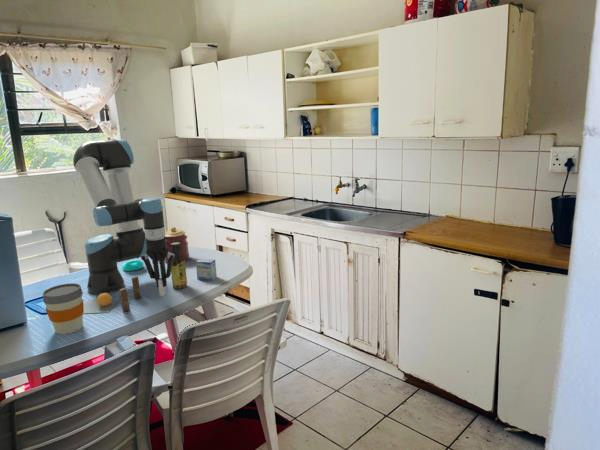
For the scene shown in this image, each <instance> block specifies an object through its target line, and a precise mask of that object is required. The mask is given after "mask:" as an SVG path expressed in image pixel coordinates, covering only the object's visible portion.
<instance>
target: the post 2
mask: <svg viewBox="0 0 600 450" xmlns="http://www.w3.org/2000/svg"><path fill="white" fill-rule="evenodd" d="M131 284H132V290H133V297H134V300H140V299H141V298H142V294H141V288H140V280H139V277H138V276H133V277H131Z"/></svg>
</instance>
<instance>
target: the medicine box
mask: <svg viewBox="0 0 600 450" xmlns="http://www.w3.org/2000/svg"><path fill="white" fill-rule="evenodd" d="M216 265H217V264H216V259H203V258H202V259H201V258H200V259H198V260H196V261H195V268H196V278H197V280H198V281H214V280H215V279H216V278H217V277H218V275H217V267H216Z"/></svg>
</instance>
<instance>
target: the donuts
mask: <svg viewBox="0 0 600 450" xmlns="http://www.w3.org/2000/svg"><path fill="white" fill-rule="evenodd" d="M144 265H145V263H144V261H143V260H139V259H131V260H127V261H126V262H124V263H122V270H124V271H125V272H133V271H138V270H141V269H142V268H143V267H144Z"/></svg>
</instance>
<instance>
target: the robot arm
mask: <svg viewBox="0 0 600 450" xmlns="http://www.w3.org/2000/svg"><path fill="white" fill-rule="evenodd" d="M72 162H73V164H72V165H73V167H74V169H75V172H76V173H77V174H79V176H81V179H82V181H83V182H84V185H85V187H86V189H87V191H88V193H89V195H90V198H91V200H92V202H93V204H94V208H93V210H92V214H93V220H94V222H95V224H96V226H98V227H106V226H108V227H109V226H113V225H117V227H118V228H117V230H116V231H115V236H113V234H110V233H106V234H99V235H96V236H93V237H91V238H89V239H87V240H86V241H85V243H84V251H85V256H86V261H87V267H88V272H89V273H88V281H87V287H86V288H87V292H88V293H89V294H93V295H100V294H102V293H108V294H109V293H112V292H116V291H117V290H120V289H123V287H124V286H125V280H124V278H123V276H122V274H121V272H120V270H119V267H118V263H122V262H125V261H126V262H127V261H131V260H136V259H141V261H142V262H143V264H144V265H145V267H146V270H147V273H148V276H149V277H150V279H153V280H155V285H156V286H155V287H156V288H158V291H159V296H164V295H165V294H166V287H167V285H168V284H167V282H168V281H167V279H169V278H170V277H171V268H172V261H173V258H174V256H175V254H174V253H170V252H169V250H168V249H167V243H166V238H165V236H166V235H165V232H166V228H165V220H164V219H165V218H164V211H163V208H164V207H163V204H162V200H161V198H159V197H146V198H137V199H134V196H133V195H134V194H133V190H132V186H131V185H132V184H131V181H130V180H131V179H130V175H129V172H130V171H131V169H132V165H133V164H134V162H135V159H134V153H133V149H132V147H131V145H130V144H129V143H128V141H127V140H125V139H122V138H121V139H120V138H119V139H116V138H115V139H105V140H104V139H102V140H90V141H86V142H84V143H83V144H81V145H80V146H79V147H78V148H77V149H76V151H75V152H74V155H73V160H72ZM100 168H101V169H102V171H103V173H104V174H106V175H107V178H108V182H109V185H108V183H107V181H106V179H105V177H104V175H103V173H102V171H101V169H100ZM139 221H142V222H143V226H141V225H139ZM167 255H168V258H169V259H168V263H167V264H166V262H165V257H166V256H167ZM150 259H151V260H150ZM151 262H152V263H151ZM166 265H167V266H166Z"/></svg>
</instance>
